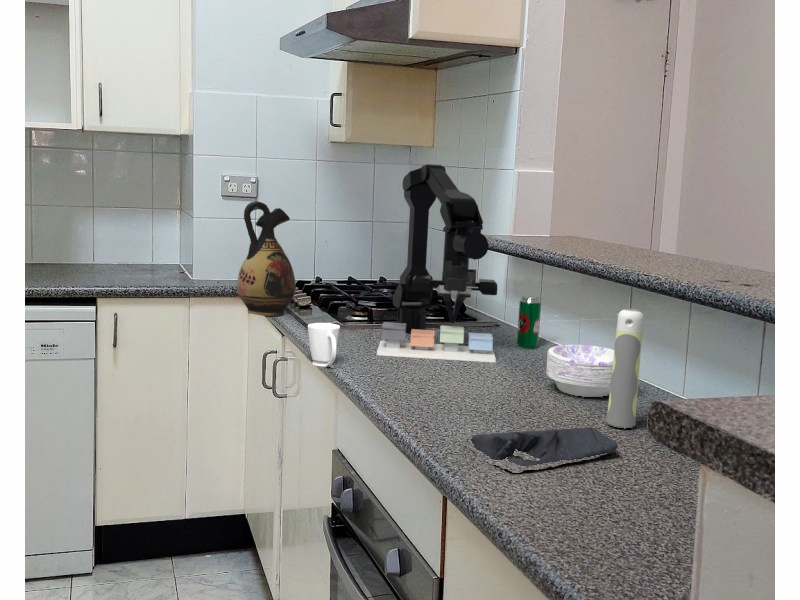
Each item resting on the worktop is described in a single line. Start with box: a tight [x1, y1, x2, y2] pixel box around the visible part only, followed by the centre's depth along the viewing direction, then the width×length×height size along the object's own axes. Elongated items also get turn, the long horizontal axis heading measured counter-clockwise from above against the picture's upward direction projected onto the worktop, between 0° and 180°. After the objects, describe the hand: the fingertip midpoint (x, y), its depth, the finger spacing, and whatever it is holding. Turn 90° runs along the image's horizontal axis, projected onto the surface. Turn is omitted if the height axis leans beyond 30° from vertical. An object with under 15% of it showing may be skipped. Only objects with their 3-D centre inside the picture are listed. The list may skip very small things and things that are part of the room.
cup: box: [307, 322, 341, 368], centre depth 179 cm, size 7×10×8 cm
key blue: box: [467, 332, 494, 351], centre depth 197 cm, size 5×5×3 cm
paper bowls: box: [545, 344, 614, 398], centre depth 169 cm, size 15×15×8 cm
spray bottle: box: [605, 308, 645, 427], centre depth 146 cm, size 5×5×20 cm
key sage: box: [439, 325, 465, 344], centre depth 197 cm, size 5×5×3 cm
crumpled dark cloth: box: [471, 426, 619, 466], centre depth 132 cm, size 15×22×5 cm
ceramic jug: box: [236, 200, 297, 317], centre depth 233 cm, size 17×15×30 cm
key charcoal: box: [381, 321, 407, 341], centre depth 197 cm, size 5×5×3 cm
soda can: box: [516, 295, 542, 350], centre depth 209 cm, size 5×5×12 cm
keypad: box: [376, 339, 497, 363], centre depth 197 cm, size 26×12×4 cm, turn 87°
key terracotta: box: [409, 329, 435, 347], centre depth 197 cm, size 5×5×3 cm
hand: (452, 323), depth 196 cm, fingers closed
